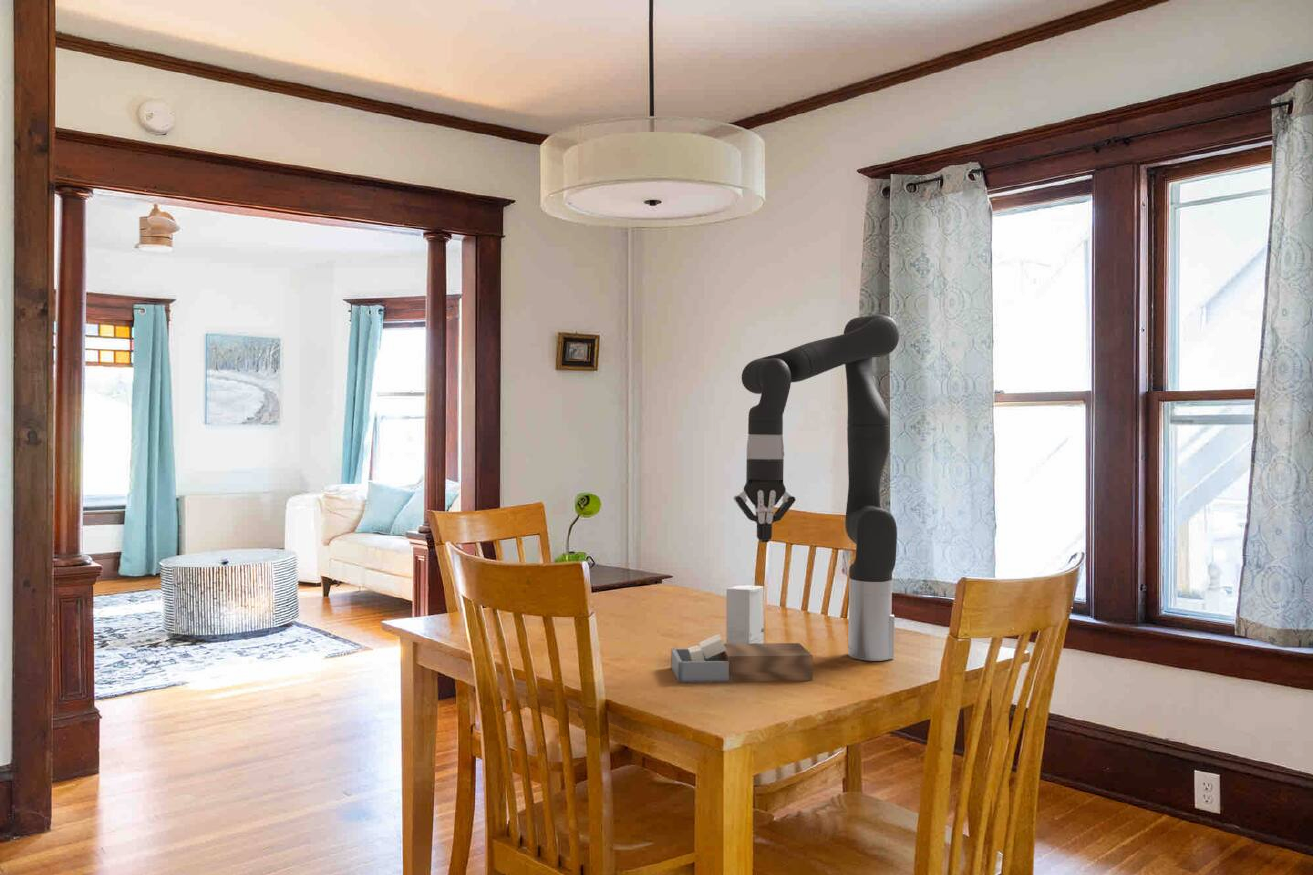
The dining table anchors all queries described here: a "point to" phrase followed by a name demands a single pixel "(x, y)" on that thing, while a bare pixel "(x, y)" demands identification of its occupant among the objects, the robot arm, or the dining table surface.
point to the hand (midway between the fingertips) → (763, 541)
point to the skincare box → (744, 615)
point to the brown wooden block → (768, 662)
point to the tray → (698, 668)
